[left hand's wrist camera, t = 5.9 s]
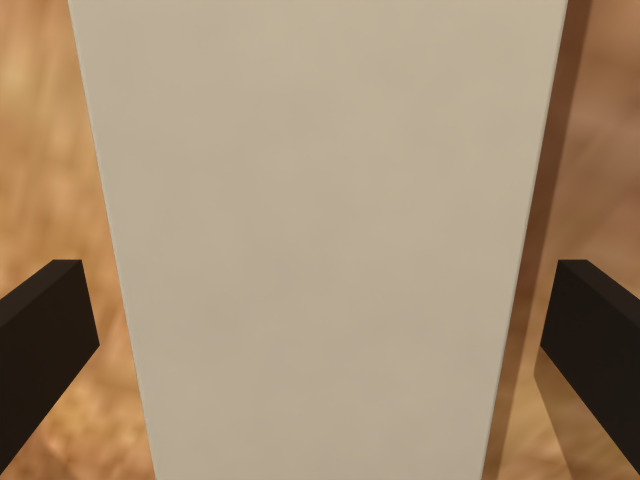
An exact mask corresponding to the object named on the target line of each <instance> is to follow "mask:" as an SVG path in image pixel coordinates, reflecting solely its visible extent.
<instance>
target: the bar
mask: <svg viewBox="0 0 640 480" xmlns="http://www.w3.org/2000/svg"><path fill="white" fill-rule="evenodd" d="M567 4H568V0H68V5H69V11H70V16H71V22H72V27H73V33H74V38H75V43H76V49H77V54H78V60H79V65H80V71H81V76H82V81H83V87H84V92H85V98H86V103H87V109H88V114H89V119H90V125H91V130H92V136H93V141H94V147H95V152H96V157H97V163H98V168H99V174H100V179H101V185H102V190H103V195H104V201H105V206H106V212H107V217H108V223H109V228H110V233H111V239H112V244H113V250H114V255H115V261H116V266H117V271H118V277H119V282H120V288H121V293H122V299H123V304H124V309H125V315H126V320H127V326H128V331H129V337H130V342H131V347H132V353H133V358H134V364H135V369H136V375H137V380H138V385H139V391H140V396H141V402H142V407H143V412H144V418H145V423H146V429H147V434H148V440H149V445H150V450H151V456H152V461H153V467H154V472H155V478H156V480H481V479H482V473H483V468H484V462H485V457H486V451H487V446H488V440H489V435H490V429H491V424H492V418H493V413H494V407H495V402H496V396H497V391H498V385H499V380H500V374H501V369H502V363H503V357H504V352H505V346H506V341H507V335H508V330H509V324H510V319H511V313H512V308H513V302H514V297H515V291H516V286H517V280H518V275H519V269H520V264H521V258H522V253H523V247H524V242H525V236H526V230H527V225H528V219H529V214H530V208H531V203H532V197H533V192H534V186H535V181H536V175H537V170H538V164H539V159H540V153H541V148H542V142H543V137H544V131H545V126H546V120H547V115H548V109H549V103H550V98H551V92H552V87H553V81H554V76H555V70H556V65H557V59H558V54H559V48H560V43H561V37H562V32H563V26H564V21H565V15H566V10H567Z"/></svg>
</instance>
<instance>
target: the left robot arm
mask: <svg viewBox="0 0 640 480" xmlns="http://www.w3.org/2000/svg"><path fill="white" fill-rule="evenodd" d="M99 346H100V344H99V339H98V335H97V330H96V325H95V321H94V316H93V311H92V307H91V302H90V297H89V292H88V288H87V283H86V278H85V274H84V269H83V264H82V260H52V261H51V262H50V263H48V264H47V265H46V266H44V267H43V268H42V269H40V270H39V271H38V272H36V273H35V274H34V275H32V276H31V277H30V278H28V279H27V280H26V281H24V282H23V283H22V284H20V285H19V286H18V287H17V288H15V289H14V290H13V291H11V292H10V293H9V294H7V295H6V296H5V297H3V298H2V299H1V300H0V475H1V474H2V472H3V471H4V470H5V469H6V467H7V466H8V465H9V463H10V462H11V461H12V459H13V458H14V457H15V455H16V454H17V453H18V452H19V450H20V449H21V448H22V446H23V445H24V444H25V442H26V441H27V440H28V438H29V437H30V436H31V435H32V433H33V432H34V431H35V429H36V428H37V427H38V425H39V424H40V423H41V421H42V420H43V419H44V418H45V416H46V415H47V414H48V412H49V411H50V410H51V408H52V407H53V406H54V404H55V403H56V402H57V401H58V399H59V398H60V397H61V395H62V394H63V393H64V391H65V390H66V389H67V388H68V386H69V385H70V384H71V382H72V381H73V380H74V378H75V377H76V376H77V374H78V373H79V372H80V371H81V369H82V368H83V367H84V365H85V364H86V363H87V361H88V360H89V359H90V357H91V356H92V355H93V354H94V352H95V351H96V350H97V348H98V347H99ZM540 346H541V347H542V348H543V350H544V351H545V352H546V354H547V355H548V356H549V357H550V359H551V360H552V361H553V363H554V364H555V365H556V367H557V368H558V369H559V371H560V372H561V373H562V374H563V376H564V377H565V378H566V380H567V381H568V382H569V384H570V385H571V386H572V388H573V389H574V390H575V391H576V393H577V394H578V395H579V397H580V398H581V399H582V401H583V402H584V403H585V405H586V406H587V407H588V408H589V410H590V411H591V412H592V414H593V415H594V416H595V418H596V419H597V420H598V422H599V423H600V424H601V425H602V427H603V428H604V429H605V431H606V432H607V433H608V435H609V436H610V437H611V438H612V440H613V441H614V442H615V444H616V445H617V446H618V448H619V449H620V450H621V452H622V453H623V454H624V455H625V457H626V458H627V459H628V461H629V462H630V463H631V465H632V466H633V467H634V469H635V470H636V471H637V472H638V474H639V475H640V300H639V299H638V298H637V297H635V296H634V295H633V294H631V293H630V292H629V291H627V290H626V289H625V288H623V287H622V286H621V285H619V284H618V283H617V282H616V281H614V280H613V279H612V278H610V277H609V276H608V275H606V274H605V273H604V272H602V271H601V270H600V269H598V268H597V267H596V266H594V265H593V264H592V263H590V262H589V261H588V260H558V264H557V269H556V274H555V278H554V283H553V288H552V292H551V297H550V302H549V306H548V311H547V316H546V320H545V325H544V330H543V334H542V339H541V344H540Z"/></svg>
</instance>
